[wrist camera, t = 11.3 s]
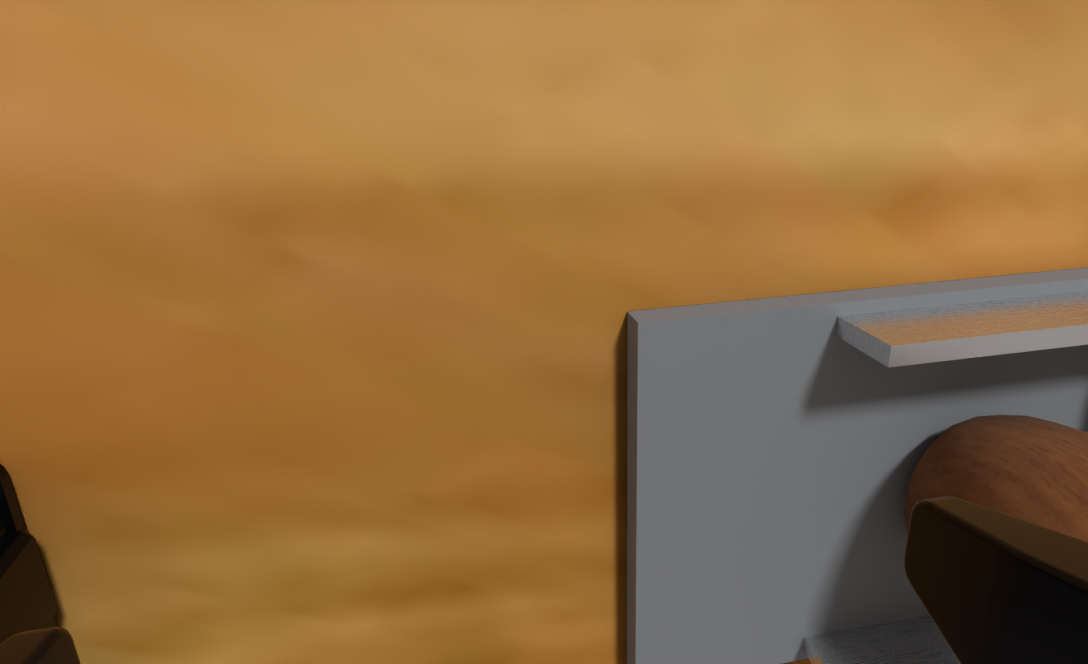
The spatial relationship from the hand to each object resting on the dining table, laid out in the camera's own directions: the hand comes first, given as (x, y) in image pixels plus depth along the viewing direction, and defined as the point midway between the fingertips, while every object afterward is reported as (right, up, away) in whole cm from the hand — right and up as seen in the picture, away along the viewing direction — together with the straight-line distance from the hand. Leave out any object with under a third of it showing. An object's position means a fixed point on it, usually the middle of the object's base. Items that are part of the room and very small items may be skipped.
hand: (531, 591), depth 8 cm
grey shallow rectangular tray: (+11, -2, +17) cm, 20 cm away
